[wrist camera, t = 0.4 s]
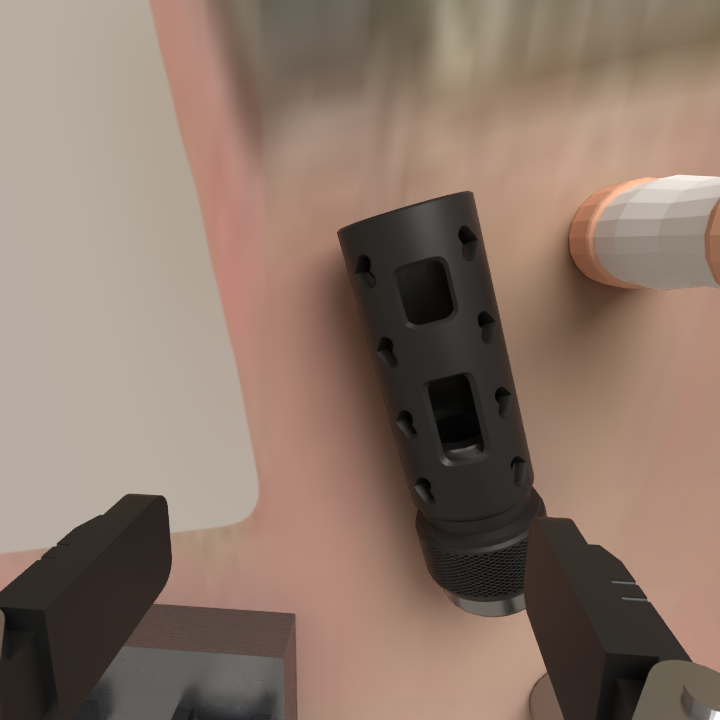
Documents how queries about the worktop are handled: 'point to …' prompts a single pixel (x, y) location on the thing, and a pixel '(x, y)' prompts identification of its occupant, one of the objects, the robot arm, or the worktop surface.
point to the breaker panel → (201, 668)
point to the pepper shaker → (651, 233)
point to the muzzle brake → (448, 395)
